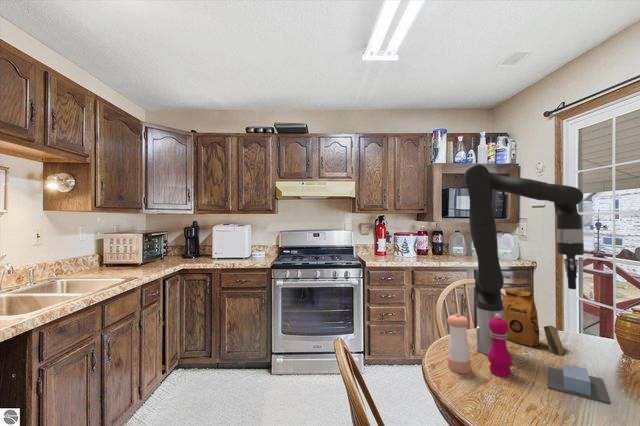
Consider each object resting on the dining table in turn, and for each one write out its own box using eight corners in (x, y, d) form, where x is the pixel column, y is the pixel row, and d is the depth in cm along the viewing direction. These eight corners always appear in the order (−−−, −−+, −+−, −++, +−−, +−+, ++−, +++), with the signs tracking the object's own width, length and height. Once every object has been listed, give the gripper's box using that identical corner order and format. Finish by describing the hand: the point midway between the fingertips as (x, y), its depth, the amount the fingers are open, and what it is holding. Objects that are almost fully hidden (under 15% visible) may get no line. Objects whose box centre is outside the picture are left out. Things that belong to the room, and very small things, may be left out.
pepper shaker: (470, 365, 108) (468, 312, 109) (471, 375, 102) (469, 317, 102) (448, 362, 111) (446, 310, 112) (447, 370, 105) (446, 315, 105)
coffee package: (531, 349, 121) (529, 294, 122) (500, 339, 132) (498, 289, 133) (544, 344, 126) (542, 291, 127) (513, 335, 137) (511, 286, 138)
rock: (549, 336, 128) (532, 336, 125) (563, 324, 124) (545, 323, 121) (571, 361, 119) (552, 361, 117) (586, 348, 115) (568, 348, 112)
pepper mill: (509, 369, 105) (507, 311, 106) (515, 379, 98) (512, 317, 99) (486, 366, 108) (484, 310, 108) (490, 375, 101) (488, 315, 102)
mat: (547, 388, 93) (547, 386, 93) (547, 368, 105) (547, 366, 105) (609, 404, 84) (609, 402, 84) (602, 380, 97) (602, 378, 97)
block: (563, 375, 99) (564, 389, 91) (562, 363, 99) (563, 375, 91) (587, 381, 95) (591, 395, 87) (586, 368, 95) (590, 381, 87)
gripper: (556, 240, 118) (558, 284, 117) (557, 242, 107) (559, 290, 107) (581, 240, 113) (584, 286, 112) (585, 242, 103) (587, 293, 102)
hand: (572, 288), depth 109 cm, fingers closed
